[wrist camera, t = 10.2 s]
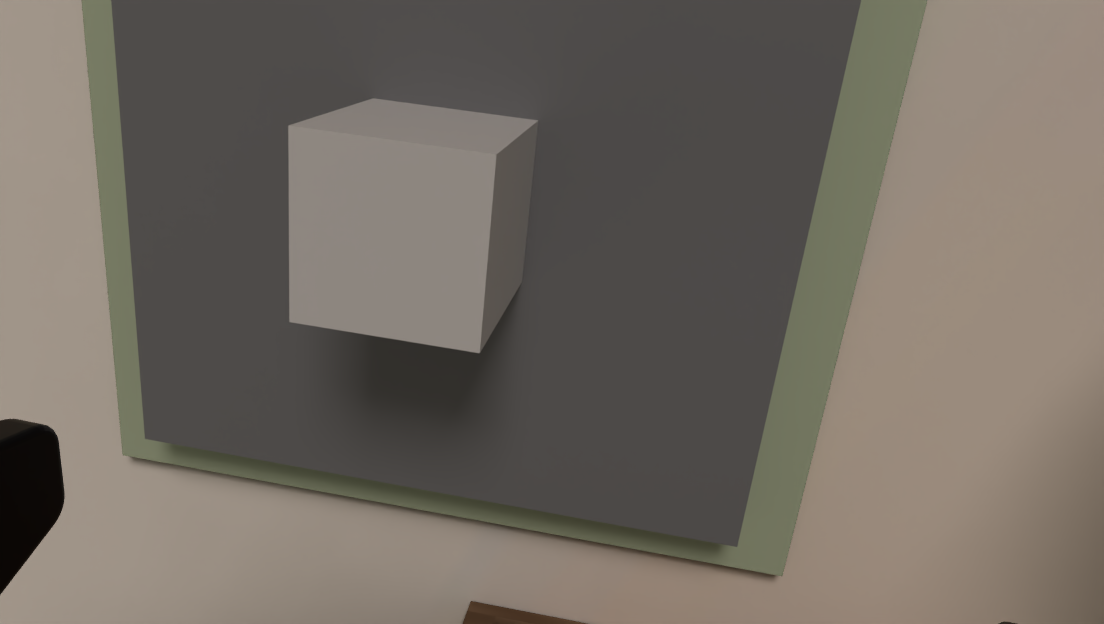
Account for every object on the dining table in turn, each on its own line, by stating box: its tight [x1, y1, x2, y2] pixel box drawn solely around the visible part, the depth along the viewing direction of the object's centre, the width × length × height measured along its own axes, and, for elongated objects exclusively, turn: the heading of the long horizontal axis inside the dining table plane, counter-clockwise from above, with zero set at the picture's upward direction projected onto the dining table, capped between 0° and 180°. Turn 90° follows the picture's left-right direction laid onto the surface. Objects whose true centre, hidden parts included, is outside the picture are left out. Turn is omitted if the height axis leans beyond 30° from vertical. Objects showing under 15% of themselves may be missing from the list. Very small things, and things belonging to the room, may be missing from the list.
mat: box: [82, 0, 927, 576], centre depth 19 cm, size 18×18×1 cm
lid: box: [111, 0, 861, 547], centre depth 17 cm, size 15×15×5 cm
